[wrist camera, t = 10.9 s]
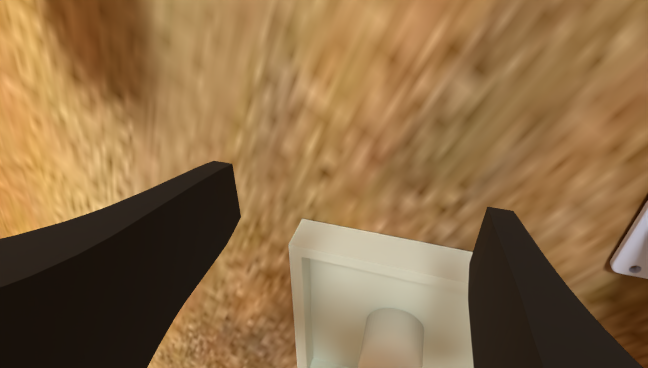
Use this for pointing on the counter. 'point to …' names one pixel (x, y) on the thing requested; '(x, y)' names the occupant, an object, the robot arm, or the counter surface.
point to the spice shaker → (392, 340)
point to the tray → (375, 293)
